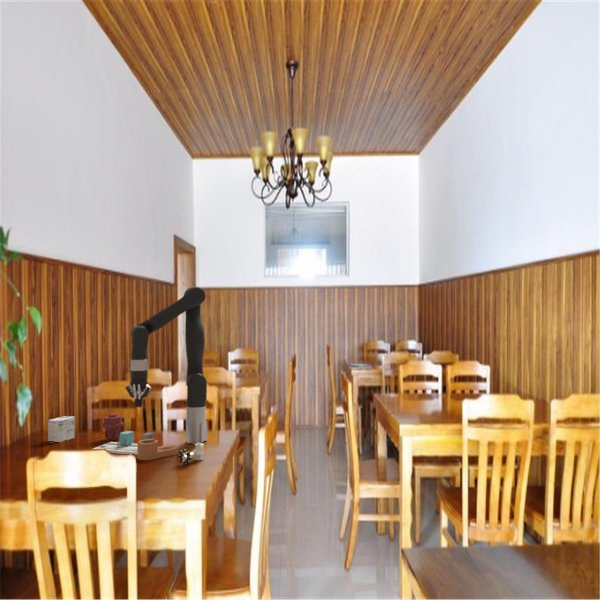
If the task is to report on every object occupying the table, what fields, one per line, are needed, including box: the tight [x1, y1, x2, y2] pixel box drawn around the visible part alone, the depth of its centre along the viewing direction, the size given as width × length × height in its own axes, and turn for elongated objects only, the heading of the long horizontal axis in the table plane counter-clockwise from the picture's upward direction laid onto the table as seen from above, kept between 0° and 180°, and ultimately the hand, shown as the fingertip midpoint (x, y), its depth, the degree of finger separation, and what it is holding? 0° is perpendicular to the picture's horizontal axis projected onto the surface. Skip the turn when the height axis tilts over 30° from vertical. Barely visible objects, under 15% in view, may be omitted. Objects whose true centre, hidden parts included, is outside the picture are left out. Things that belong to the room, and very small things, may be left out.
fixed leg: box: [141, 431, 155, 440], centre depth 221 cm, size 3×9×6 cm, turn 165°
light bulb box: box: [47, 415, 76, 443], centre depth 241 cm, size 11×7×11 cm, turn 160°
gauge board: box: [92, 441, 138, 456], centre depth 223 cm, size 25×13×2 cm, turn 75°
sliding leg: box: [117, 430, 135, 448], centre depth 224 cm, size 4×9×5 cm, turn 165°
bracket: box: [137, 438, 180, 461], centre depth 214 cm, size 18×8×7 cm, turn 130°
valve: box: [177, 443, 205, 466], centre depth 204 cm, size 7×7×12 cm
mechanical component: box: [101, 413, 125, 442], centre depth 242 cm, size 12×10×10 cm
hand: (138, 406), depth 225 cm, fingers closed
